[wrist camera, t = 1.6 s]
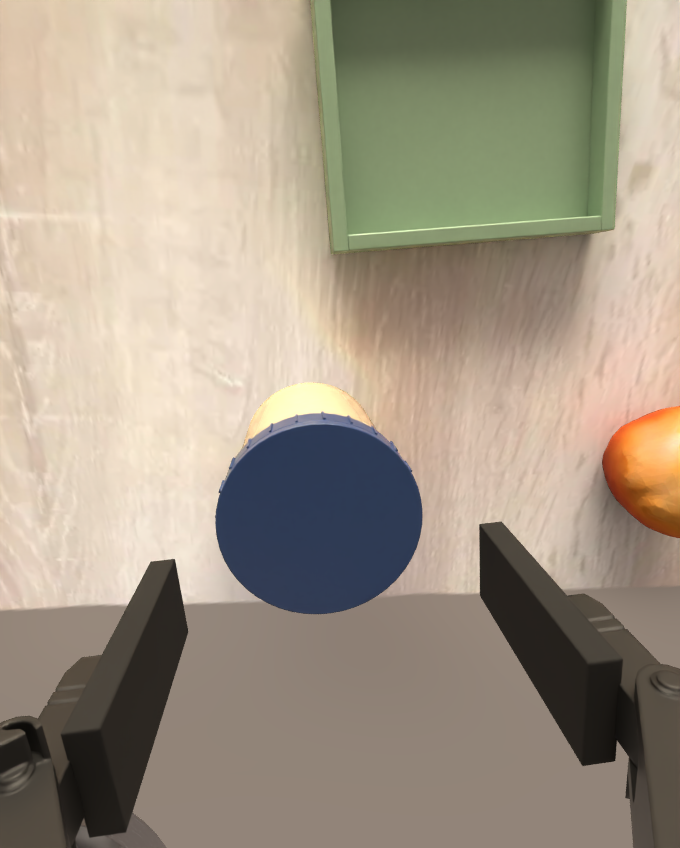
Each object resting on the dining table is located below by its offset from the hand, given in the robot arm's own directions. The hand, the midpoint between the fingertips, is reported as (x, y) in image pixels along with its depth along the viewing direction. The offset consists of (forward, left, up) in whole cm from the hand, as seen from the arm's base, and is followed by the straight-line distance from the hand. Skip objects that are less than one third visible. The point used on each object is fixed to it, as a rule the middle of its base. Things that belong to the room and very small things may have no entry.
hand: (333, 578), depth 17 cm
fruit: (+22, -3, -16) cm, 27 cm away
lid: (0, 0, -5) cm, 5 cm away
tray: (+10, +18, -16) cm, 26 cm away
